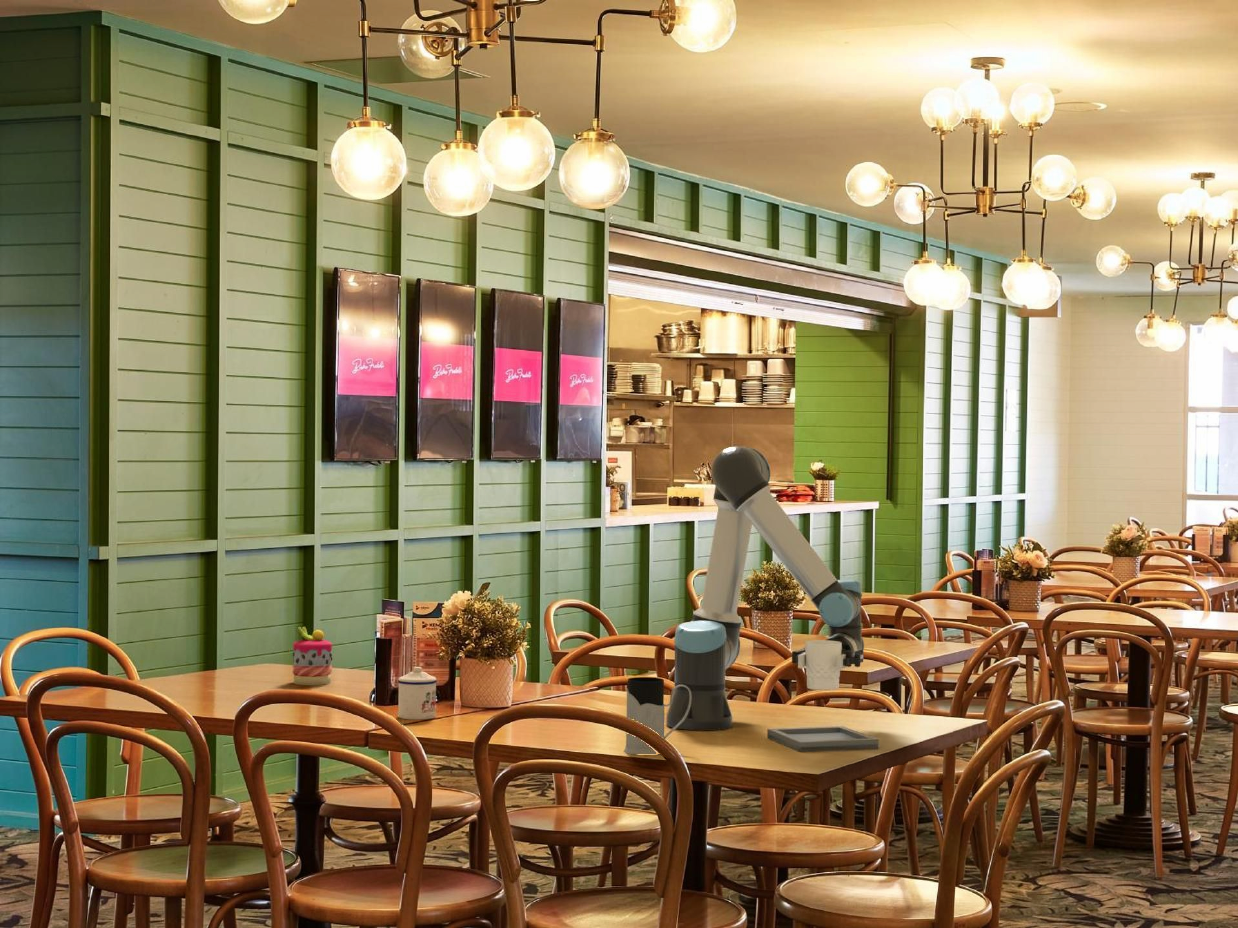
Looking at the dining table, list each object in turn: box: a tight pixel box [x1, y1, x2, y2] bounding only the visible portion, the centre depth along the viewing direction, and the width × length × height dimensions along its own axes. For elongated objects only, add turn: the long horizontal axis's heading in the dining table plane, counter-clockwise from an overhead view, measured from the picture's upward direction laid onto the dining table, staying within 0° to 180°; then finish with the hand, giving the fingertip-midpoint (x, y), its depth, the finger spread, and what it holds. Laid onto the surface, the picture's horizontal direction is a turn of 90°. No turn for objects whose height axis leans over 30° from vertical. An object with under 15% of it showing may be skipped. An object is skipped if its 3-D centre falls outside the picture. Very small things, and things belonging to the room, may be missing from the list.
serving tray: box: [766, 725, 880, 753], centre depth 343 cm, size 18×18×2 cm
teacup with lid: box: [397, 666, 438, 721], centre depth 373 cm, size 12×9×12 cm
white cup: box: [804, 639, 842, 691], centre depth 343 cm, size 8×8×10 cm
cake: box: [292, 626, 333, 686], centre depth 429 cm, size 10×11×15 cm
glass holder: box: [623, 676, 692, 755], centre depth 330 cm, size 9×14×15 cm, turn 103°
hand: (819, 662), depth 338 cm, fingers closed on white cup, 8 cm apart
